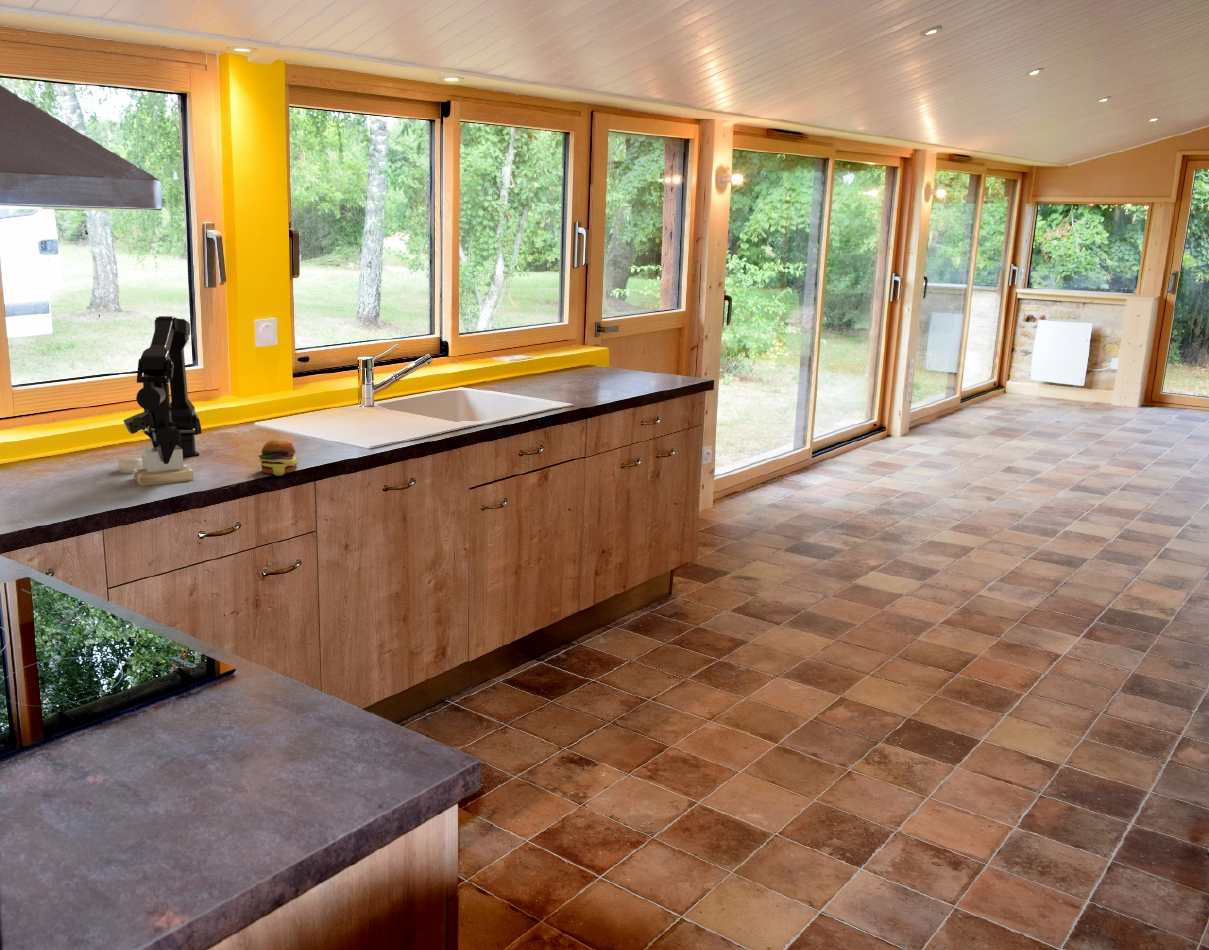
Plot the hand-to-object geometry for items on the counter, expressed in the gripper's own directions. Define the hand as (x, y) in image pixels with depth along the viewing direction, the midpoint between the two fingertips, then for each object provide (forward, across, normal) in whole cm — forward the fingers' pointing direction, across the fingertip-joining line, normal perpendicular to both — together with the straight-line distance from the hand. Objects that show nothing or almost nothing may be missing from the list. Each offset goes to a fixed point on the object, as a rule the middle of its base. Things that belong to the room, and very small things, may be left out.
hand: (162, 460), depth 282 cm
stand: (+5, 0, 0) cm, 5 cm away
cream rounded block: (+5, -14, -5) cm, 16 cm away
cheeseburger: (+5, +6, +29) cm, 30 cm away
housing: (+2, 0, 0) cm, 2 cm away
